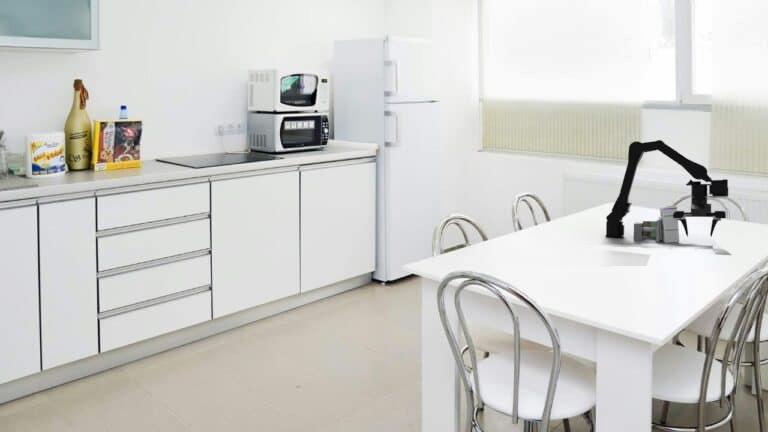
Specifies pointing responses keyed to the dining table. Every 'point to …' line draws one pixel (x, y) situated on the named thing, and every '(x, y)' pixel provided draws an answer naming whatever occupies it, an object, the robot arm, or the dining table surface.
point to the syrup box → (669, 224)
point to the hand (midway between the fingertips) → (699, 236)
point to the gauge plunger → (655, 229)
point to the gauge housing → (640, 234)
